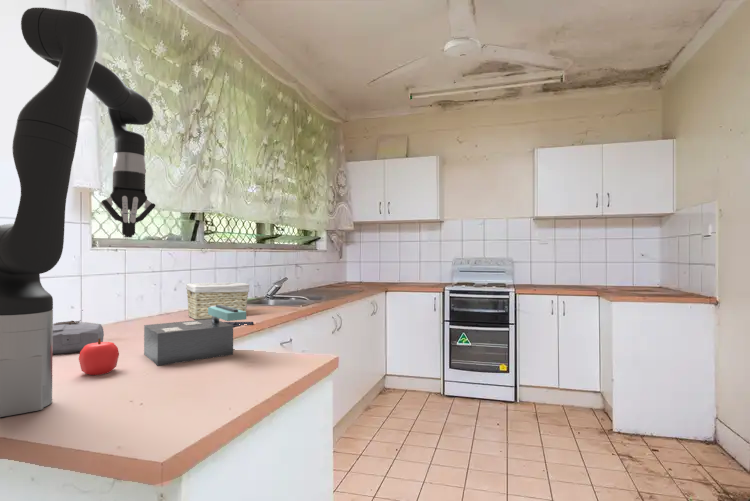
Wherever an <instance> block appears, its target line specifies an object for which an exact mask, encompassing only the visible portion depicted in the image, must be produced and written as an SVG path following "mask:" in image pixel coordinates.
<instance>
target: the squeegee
mask: <svg viewBox="0 0 750 501" xmlns="http://www.w3.org/2000/svg"><path fill="white" fill-rule="evenodd" d="M223 322H224V323H227V324H230V325H233V328H235V327H242V326H241V325H244V324H247V325H246V326H254V321H223ZM239 324H240V325H239Z"/></svg>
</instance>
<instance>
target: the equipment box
mask: <svg viewBox="0 0 750 501" xmlns="http://www.w3.org/2000/svg"><path fill="white" fill-rule="evenodd" d="M224 322H225V321H221V320H220V318H217V317H214V316H212V319H194V320H188V321H187V320H184V321H183V320H182V321H176V322H174V321H173V322H163V323H153V324H144V325H143V331H144V332H143V337H144V338H143V347H144V348H143V354H144V356H146V357H147V358H148V359H149V360H150V361H151V362H152V363H154V365H155V366H157V367H159V366H166V365H172V364H173V365H174V364H178V363H179V364H180V363H186V362H194V361H201V360H206V359H207V360H208V359H213V357H214V358H220V357H221V358H222V357H228V356H233V355H234V327H233V325H230V324H227V323H224Z"/></svg>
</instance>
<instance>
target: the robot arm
mask: <svg viewBox="0 0 750 501" xmlns="http://www.w3.org/2000/svg"><path fill="white" fill-rule="evenodd" d="M20 30H21V34H22V37H23V40H24V41H25V43H26V45H27V47H29V48H30V50H31V51H33V53H34V54H35V55H37V56H39V58H41V59H43V60H45V61H46V62H48V63H49V64H50V65H52V66H53V67H55V68H57V69H56V71H55V73H54V75H53V77H51V79H50V80H49V82H47V84H46V85H44V87H42V88H41V89H40V90H39V91H38V92H37V93H36V94H35V95H33V96H32V98H30V99H29V100H28V101H27V103H25V105H24V106H22V109H21V110H20V112H19V113H18V116H17V120H16V124H15V129H14V134H13V139H12V148H11V149H12V157H13V161H14V165H15V166H14V167H15V169H16V173H17V176H18V180H19V185H20V186H19V187H20V197H19V204H18V208H17V212H16V217H15V218H14V223H6V224H0V418H4V417H9V416H15V415H21V414H25V413H31V412H36V411H42V410H43V409H44V408H45V407H47V406H50V405H51V404H52V403H53V354H52V353H53V324H54V299H53V296H52V294H50V293H49V292H48V291H47V290H46V289H45V288H44V287H43V285H42V283H41V282H42V281H41V276H40V275H42V274H44V273H47V272H49V271H51V270H52V269H53V268H54V267H56V265H57V264H58V263H59V261H60V259H61V258H62V255H63V249H64V242H65V224H66V223H65V221H66V204H67V196H68V192H69V187H70V186H69V185H70V180H71V173H72V168H73V167H72V166H73V161H74V158H75V154H76V147H77V142H78V135H79V130H80V129H79V128H80V123H81V116H82V110H83V104H84V101H85V100H84V99H85V96H86V92H87V90H88V91H90V92H91V93H92V94H93V95H94V96H95V97H96V98H97V99H98V100H99V101H100V102H101V103H102V104H103V105H104V106H106V109H107V110H106V111H107V114H108V117H109V121H110V125H111V129H112V132H113V139H114V143H113V144H114V145H113V146H114V149H113V150H114V152H113V153H114V154H113V160H112V189H111V190H112V191H111V193H110V194H109V197H108V198H106V199H103V200H102V201H101V202H100V204H101V205H102V206H103V208H104V209H105V210H106V211H107V212H108V214H109V215H110V216H111V217H112V218H113V219H114V220H115V221H118V222H121V233H122V235H123V236H124V238H133V236H135V234H136V223H138V222H142V221H143V220H144V219H145V218H147V216H148V215H149V214H150V213H151V212H152V211H153V210H154V208H156V204H155V203H152V202H151V201H150V200H148V196H147V194H146V172H147V170H146V159H145V158H146V157H145V152H146V148H145V147H146V146H145V144H146V141H145V137H144V136H143V135H142V134H141V133H138V132H134V131H131V130H128V128H127V125H133V126H134V125H136V126H138V125H139V126H143V125H144V126H145V125H147V124H150V122H152V120H153V117H154V108H153V106H152V104H151V103H150V102H149V100H148V99H147V98H146V97H145V96H143V95H142V94H140V93H139V92H137V91H136V90H134V89H132V88H130V87H128V86H127V84H126V83H125V82H124V81H123V80H122V79H121V78H120V76H118V74H116V72H114V71H113V70H112V69H110V68H108V67H107V66H105V65H104V64H102V63H100V62H98V61H96V58H97V55H98V54H97V53H98V46H99V40H98V39H99V35H98V32H97V27H96V25H95V23H94V21H93V20H92V19H91V18H90V16H88V15H87V14H84V13H81V12H77V11H72V10H65V9H57V8H55V9H54V8H49V7H30V8H27V9H26V10H24V12H23V14H22V16H21V19H20ZM113 205H115V206H116V207H117V208H118V209H119V210H120V214H119V213H118V211H117V210H115V208H114V207H113ZM143 205H144V206H143ZM142 206H143V207H144V209H143V211H142V212H141V213H140V214H139V215H138V216H137V214H138V213H137V212H138V210H139V209H141V208H142Z"/></svg>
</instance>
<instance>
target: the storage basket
mask: <svg viewBox="0 0 750 501" xmlns="http://www.w3.org/2000/svg"><path fill="white" fill-rule="evenodd" d="M185 289H186V294H187V295H186V296H187V310H188V311H187V312H188V317H189V318H192V319H194V320H205V319H212V315H209V314H208V307H210V306H216V305H223V306H228V307H231V308H235V309H238V310H242V311H245V312H246V313H247V307H248V297H249V296H248V295H249V292H250V284H249V283H245V282H231V281H229V282H198V283H197V282H196V283H194V282H193V283H189V282H188V283H187V284H186V288H185Z"/></svg>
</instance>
